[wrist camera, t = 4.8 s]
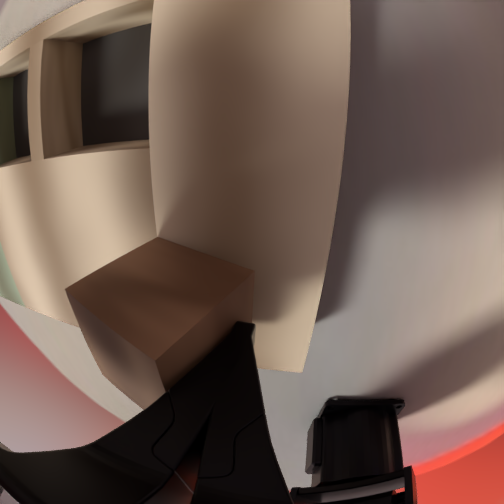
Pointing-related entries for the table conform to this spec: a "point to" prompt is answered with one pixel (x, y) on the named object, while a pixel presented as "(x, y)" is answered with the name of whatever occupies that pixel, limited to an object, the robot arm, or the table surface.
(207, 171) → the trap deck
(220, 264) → the walnut block
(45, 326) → the table surface
